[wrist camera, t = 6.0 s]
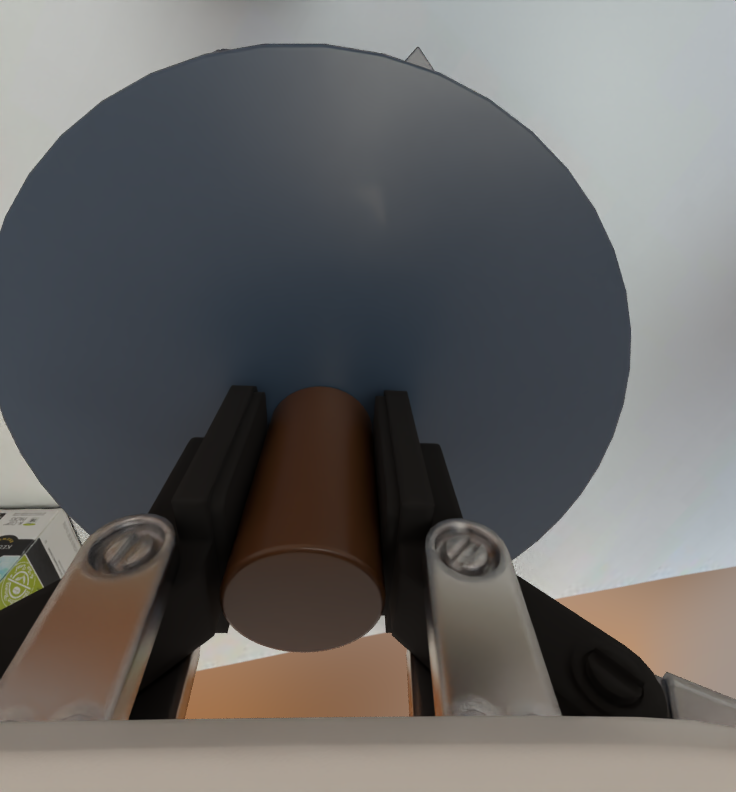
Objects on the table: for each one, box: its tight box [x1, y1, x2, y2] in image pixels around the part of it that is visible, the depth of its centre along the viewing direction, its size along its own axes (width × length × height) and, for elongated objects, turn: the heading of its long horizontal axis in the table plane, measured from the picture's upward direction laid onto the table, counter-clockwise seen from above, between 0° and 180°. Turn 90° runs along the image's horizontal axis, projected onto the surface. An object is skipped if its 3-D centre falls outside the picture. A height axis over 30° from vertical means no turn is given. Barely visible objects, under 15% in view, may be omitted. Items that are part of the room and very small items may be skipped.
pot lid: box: [0, 44, 631, 652], centre depth 9 cm, size 16×16×6 cm
